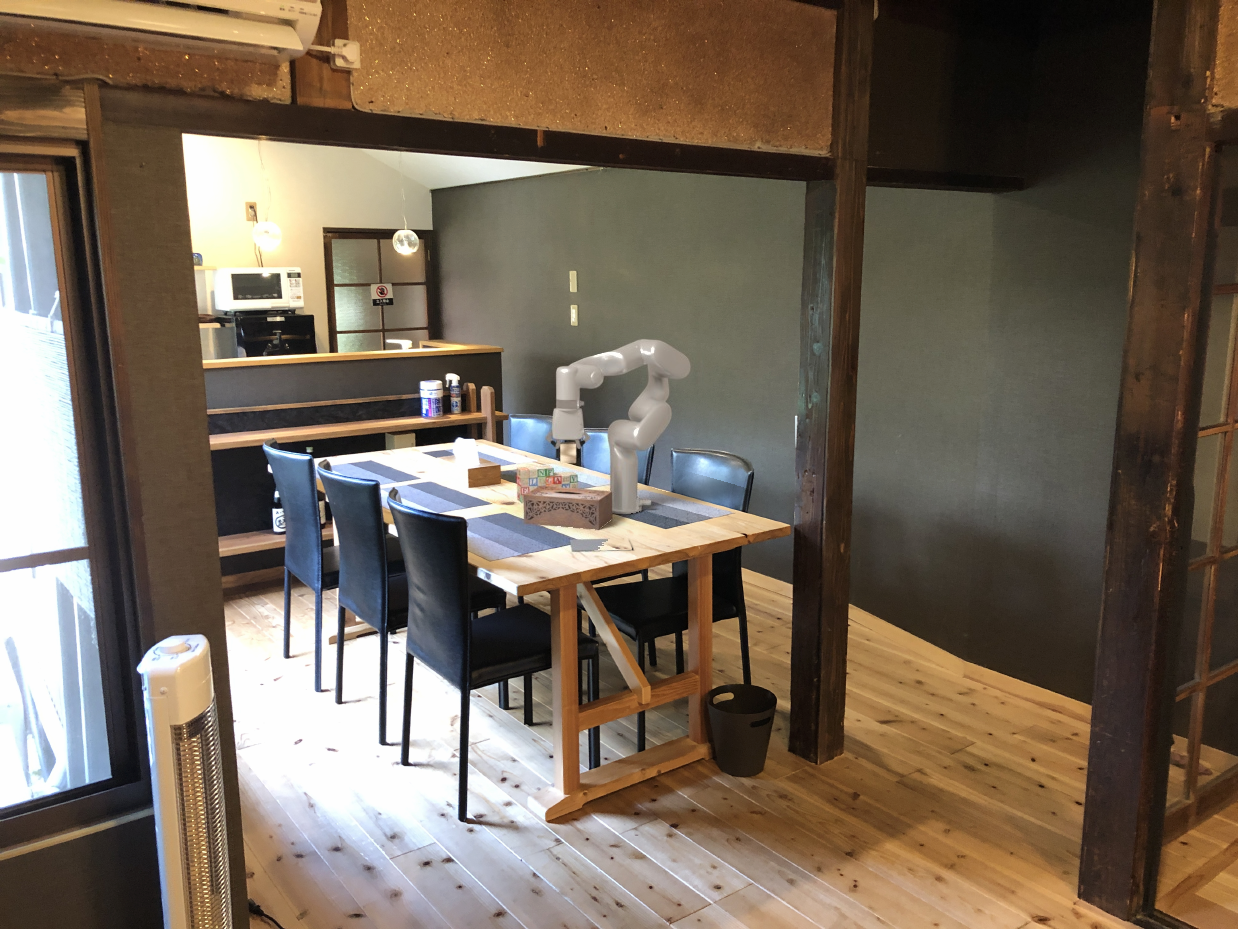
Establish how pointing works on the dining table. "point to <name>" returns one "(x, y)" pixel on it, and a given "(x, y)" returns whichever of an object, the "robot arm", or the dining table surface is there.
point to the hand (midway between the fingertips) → (567, 459)
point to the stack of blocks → (542, 479)
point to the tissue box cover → (568, 507)
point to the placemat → (586, 544)
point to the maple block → (567, 452)
